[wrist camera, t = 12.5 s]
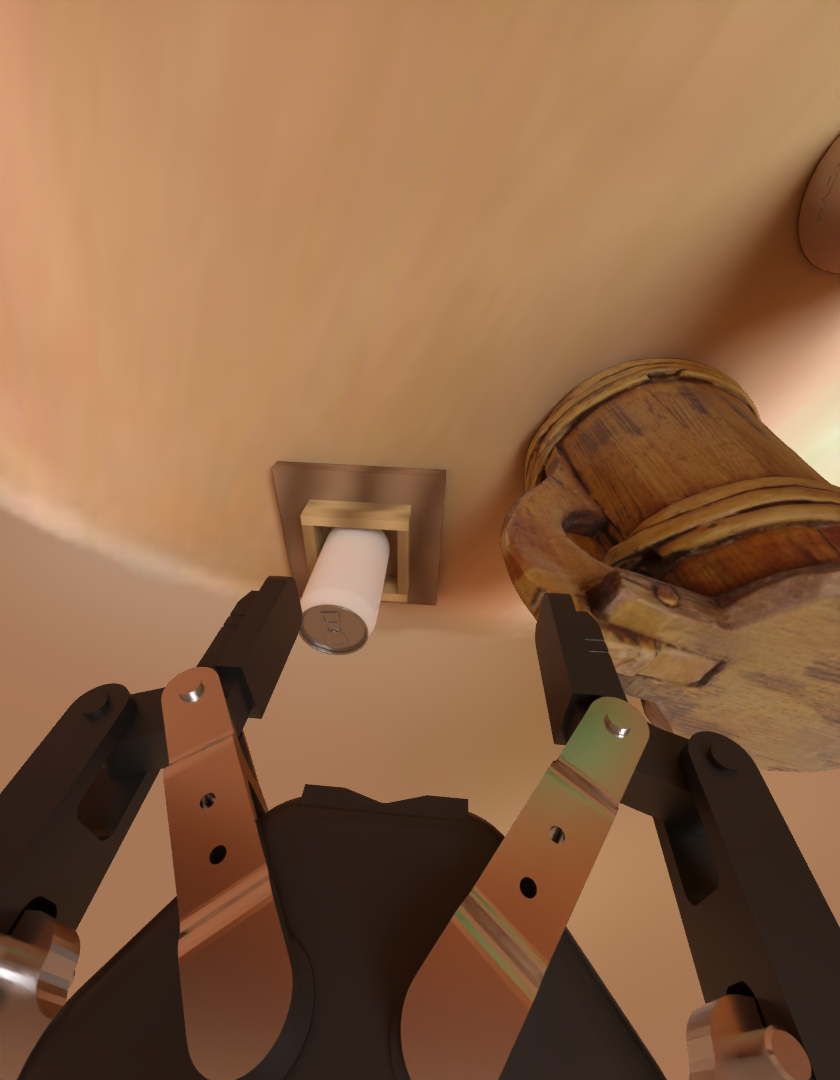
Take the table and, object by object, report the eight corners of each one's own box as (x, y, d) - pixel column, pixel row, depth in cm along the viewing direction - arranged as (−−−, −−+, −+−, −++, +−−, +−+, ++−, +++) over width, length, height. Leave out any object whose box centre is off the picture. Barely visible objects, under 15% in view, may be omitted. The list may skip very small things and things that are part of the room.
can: (333, 568, 44) (301, 658, 34) (322, 517, 40) (282, 601, 30) (393, 567, 44) (378, 659, 34) (387, 515, 40) (368, 601, 30)
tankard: (670, 558, 43) (875, 835, 22) (451, 516, 41) (458, 772, 21) (792, 383, 33) (1375, 599, 12) (508, 317, 31) (629, 438, 11)
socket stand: (445, 470, 38) (445, 492, 35) (436, 596, 48) (435, 624, 44) (277, 461, 39) (259, 483, 35) (299, 588, 48) (287, 615, 44)
